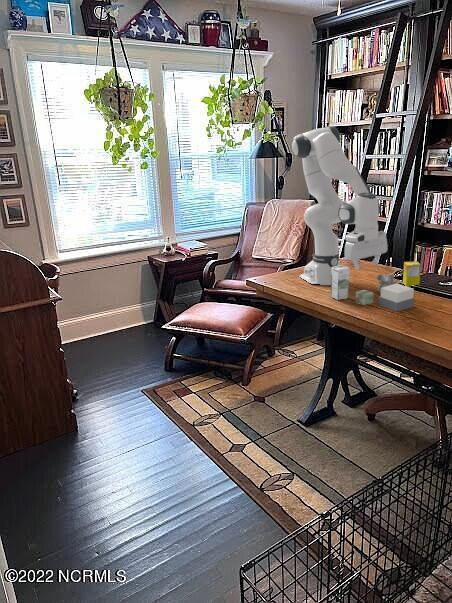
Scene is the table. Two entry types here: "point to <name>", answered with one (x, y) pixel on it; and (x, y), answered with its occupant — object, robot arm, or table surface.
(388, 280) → the elephant statuette
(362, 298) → the sage cube
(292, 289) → the table surface
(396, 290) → the tower top block
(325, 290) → the table surface
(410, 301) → the tower base block
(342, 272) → the syrup box
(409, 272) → the supplement box
